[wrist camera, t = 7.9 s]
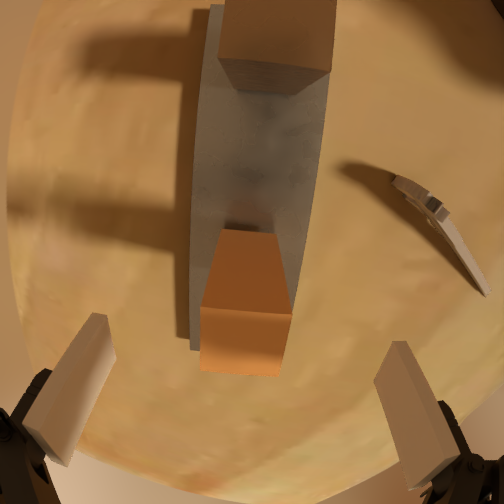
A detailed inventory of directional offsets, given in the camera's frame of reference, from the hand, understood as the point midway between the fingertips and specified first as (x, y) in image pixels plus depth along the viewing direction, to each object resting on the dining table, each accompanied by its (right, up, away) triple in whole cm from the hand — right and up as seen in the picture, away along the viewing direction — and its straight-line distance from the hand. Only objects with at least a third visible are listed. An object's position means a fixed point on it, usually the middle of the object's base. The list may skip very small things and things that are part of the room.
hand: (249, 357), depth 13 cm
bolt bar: (0, +9, +11) cm, 14 cm away
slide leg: (0, +5, +11) cm, 12 cm away
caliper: (+20, +5, +13) cm, 24 cm away
